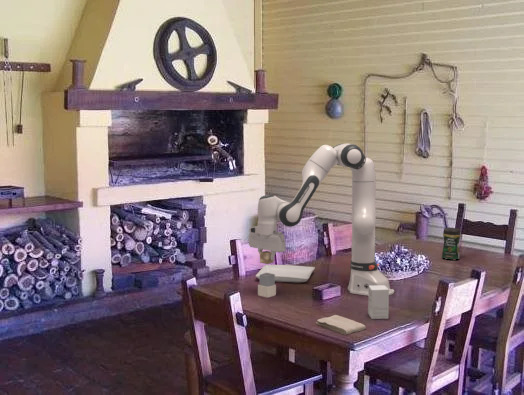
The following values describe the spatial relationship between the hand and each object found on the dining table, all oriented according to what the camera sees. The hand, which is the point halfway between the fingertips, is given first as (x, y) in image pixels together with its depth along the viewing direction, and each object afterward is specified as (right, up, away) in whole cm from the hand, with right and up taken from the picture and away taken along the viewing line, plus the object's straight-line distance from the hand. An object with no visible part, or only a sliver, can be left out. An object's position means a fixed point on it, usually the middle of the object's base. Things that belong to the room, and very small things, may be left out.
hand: (266, 259), depth 317 cm
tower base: (0, -17, +2) cm, 17 cm away
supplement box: (+47, -22, -31) cm, 60 cm away
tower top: (0, -12, +1) cm, 12 cm away
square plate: (+10, -13, +37) cm, 41 cm away
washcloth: (+29, -24, -45) cm, 58 cm away
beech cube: (0, -2, 0) cm, 2 cm away
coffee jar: (+108, -8, +80) cm, 134 cm away
